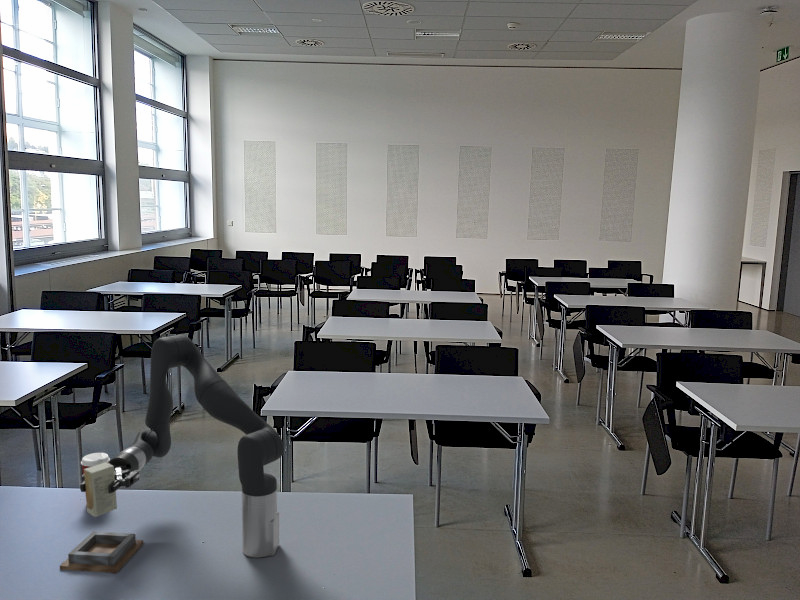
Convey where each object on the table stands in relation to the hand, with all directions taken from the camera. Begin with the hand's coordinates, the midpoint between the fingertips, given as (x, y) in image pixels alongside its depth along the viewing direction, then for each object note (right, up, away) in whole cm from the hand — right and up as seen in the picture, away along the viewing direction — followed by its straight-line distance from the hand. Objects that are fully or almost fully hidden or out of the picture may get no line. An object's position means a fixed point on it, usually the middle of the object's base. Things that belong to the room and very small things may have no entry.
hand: (95, 489), depth 172 cm
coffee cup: (-16, -15, +36) cm, 42 cm away
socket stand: (0, -19, +5) cm, 20 cm away
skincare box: (0, -7, +3) cm, 8 cm away
